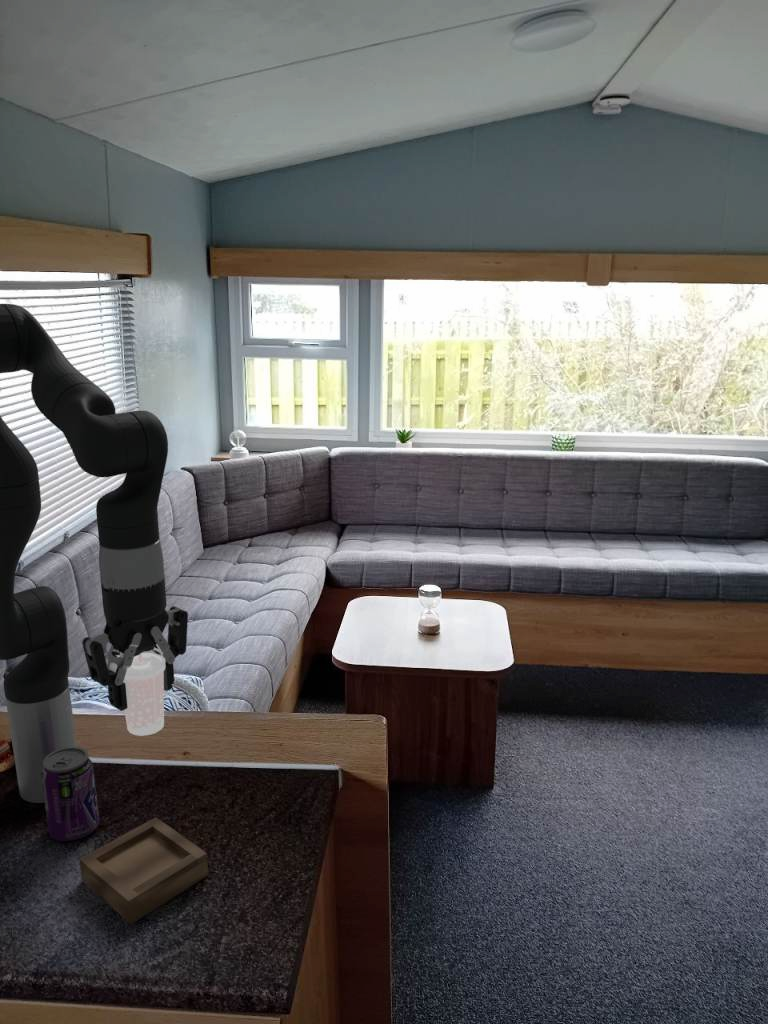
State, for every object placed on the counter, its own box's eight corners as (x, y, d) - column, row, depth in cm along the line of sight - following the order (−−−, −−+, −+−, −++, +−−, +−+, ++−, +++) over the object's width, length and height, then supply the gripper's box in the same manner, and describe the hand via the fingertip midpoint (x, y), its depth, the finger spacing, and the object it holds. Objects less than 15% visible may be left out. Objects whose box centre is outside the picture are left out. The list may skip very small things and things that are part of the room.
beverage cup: (154, 709, 114) (146, 612, 110) (179, 726, 110) (172, 626, 106) (112, 726, 110) (102, 626, 106) (136, 744, 106) (127, 642, 102)
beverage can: (83, 848, 122) (74, 774, 119) (39, 842, 123) (28, 769, 120) (108, 817, 129) (100, 747, 125) (66, 812, 130) (57, 742, 127)
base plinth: (82, 881, 115) (79, 859, 114) (158, 837, 124) (155, 817, 123) (131, 924, 108) (128, 901, 107) (208, 874, 116) (206, 853, 115)
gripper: (164, 553, 111) (172, 669, 116) (62, 584, 101) (76, 709, 106) (199, 567, 107) (206, 687, 112) (96, 600, 96) (109, 731, 101)
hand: (143, 697), depth 109 cm, fingers closed on beverage cup, 6 cm apart
